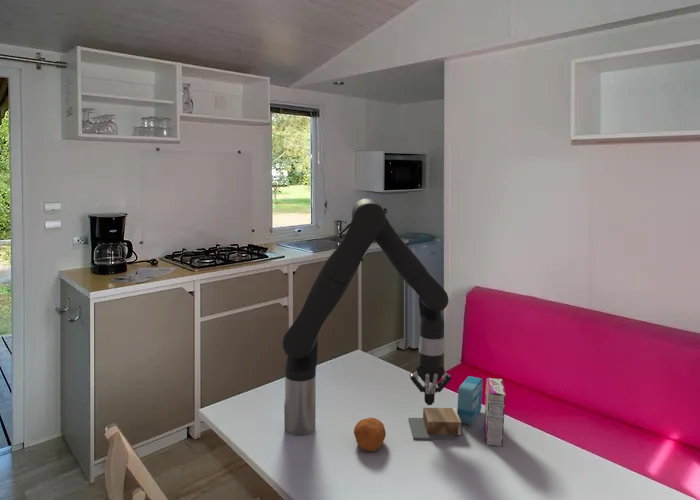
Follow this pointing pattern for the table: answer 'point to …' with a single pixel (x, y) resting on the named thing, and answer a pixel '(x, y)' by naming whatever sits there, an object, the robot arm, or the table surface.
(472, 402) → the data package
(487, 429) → the candy bar box
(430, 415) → the slab
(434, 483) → the table surface
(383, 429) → the potato
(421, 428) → the mat
